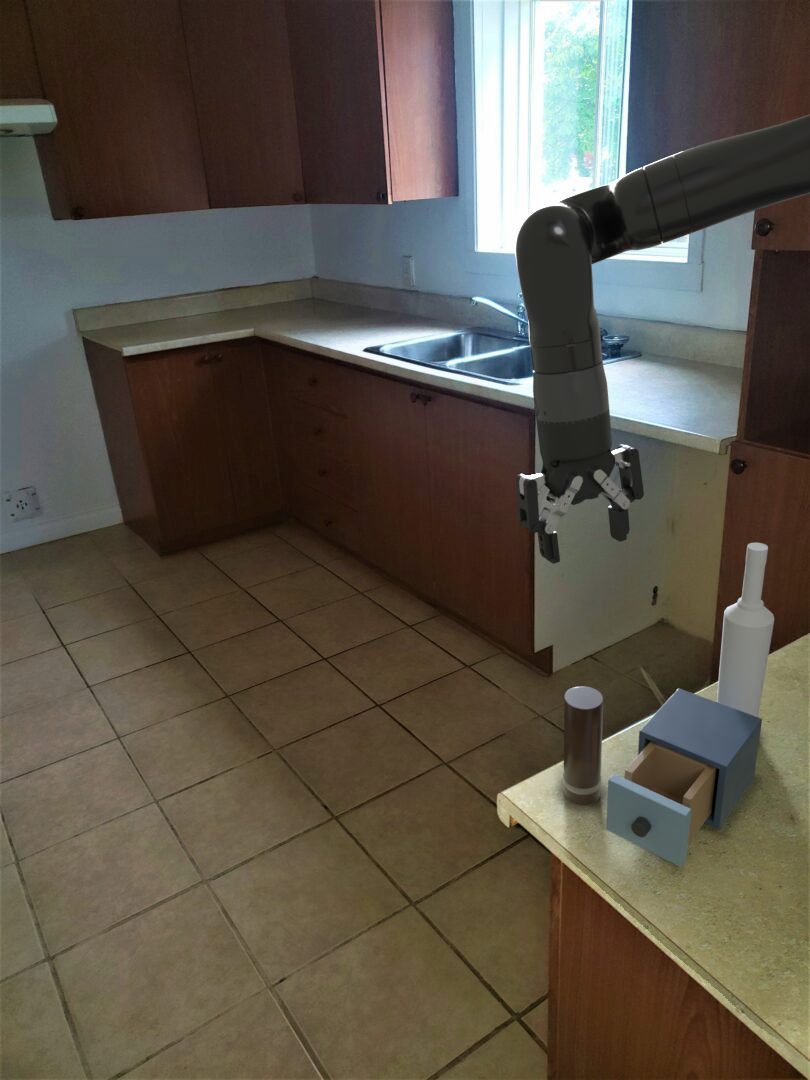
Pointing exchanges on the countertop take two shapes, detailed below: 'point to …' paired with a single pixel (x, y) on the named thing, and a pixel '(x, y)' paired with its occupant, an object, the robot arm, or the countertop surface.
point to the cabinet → (709, 744)
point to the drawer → (661, 801)
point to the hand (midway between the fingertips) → (586, 549)
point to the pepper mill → (582, 745)
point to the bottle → (746, 639)
